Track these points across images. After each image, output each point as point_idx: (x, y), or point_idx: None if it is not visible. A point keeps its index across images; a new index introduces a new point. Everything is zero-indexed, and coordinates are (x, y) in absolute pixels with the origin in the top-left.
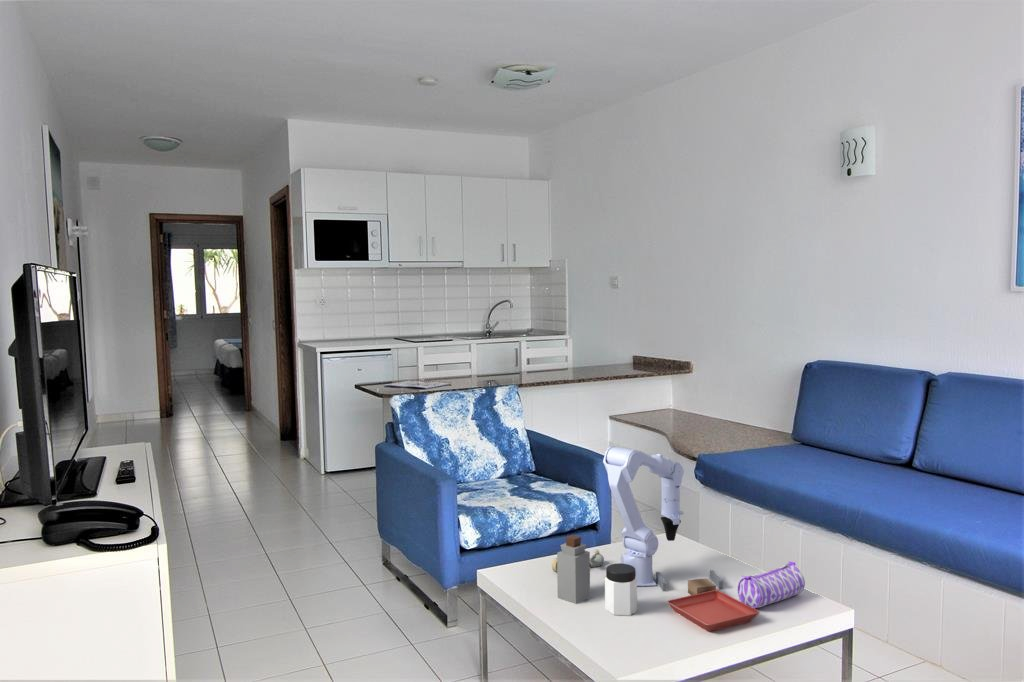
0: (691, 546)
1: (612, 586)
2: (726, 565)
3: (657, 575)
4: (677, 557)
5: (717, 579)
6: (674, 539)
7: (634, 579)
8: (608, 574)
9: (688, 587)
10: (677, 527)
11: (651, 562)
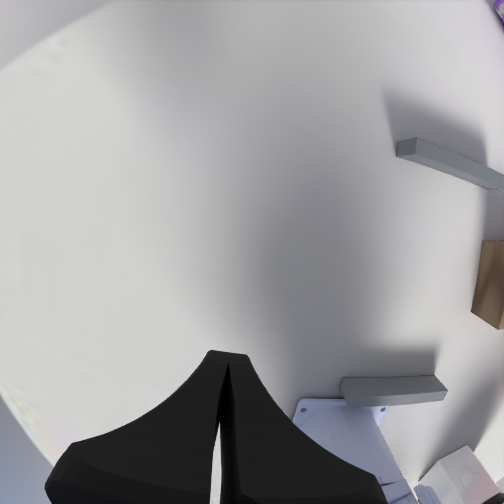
0: (7, 87)
1: None
2: (258, 6)
3: (373, 404)
4: (91, 189)
5: (494, 185)
6: (248, 357)
7: (501, 492)
8: None
9: (485, 318)
10: (312, 441)
11: (393, 462)
